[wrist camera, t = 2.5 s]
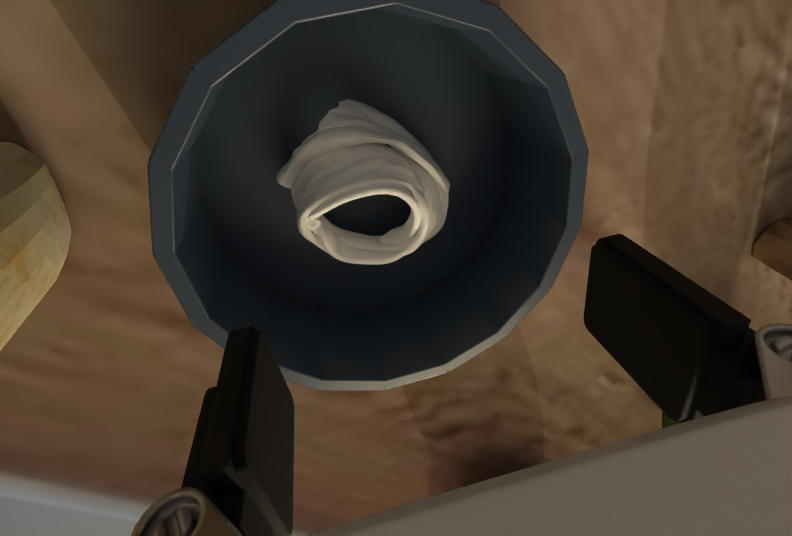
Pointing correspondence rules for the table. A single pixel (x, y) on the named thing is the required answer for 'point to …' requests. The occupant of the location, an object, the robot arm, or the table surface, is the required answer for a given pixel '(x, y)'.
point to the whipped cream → (364, 183)
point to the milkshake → (776, 247)
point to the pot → (377, 214)
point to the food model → (28, 235)
